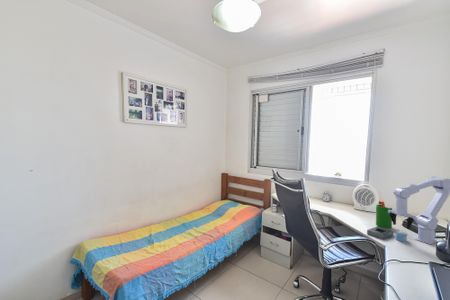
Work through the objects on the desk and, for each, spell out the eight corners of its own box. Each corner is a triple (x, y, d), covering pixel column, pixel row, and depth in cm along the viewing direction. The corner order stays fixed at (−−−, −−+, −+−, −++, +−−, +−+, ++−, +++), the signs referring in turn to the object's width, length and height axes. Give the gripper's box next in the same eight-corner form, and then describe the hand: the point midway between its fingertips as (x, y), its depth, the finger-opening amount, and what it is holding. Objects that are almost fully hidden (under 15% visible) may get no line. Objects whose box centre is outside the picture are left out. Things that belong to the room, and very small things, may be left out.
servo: (400, 238, 137) (400, 229, 137) (407, 240, 134) (407, 231, 134) (395, 240, 134) (395, 231, 134) (402, 242, 131) (402, 233, 130)
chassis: (377, 230, 150) (377, 226, 150) (393, 235, 141) (393, 231, 141) (367, 233, 144) (367, 229, 143) (383, 239, 135) (383, 235, 135)
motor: (394, 227, 154) (394, 202, 154) (387, 229, 151) (387, 203, 151) (380, 222, 164) (380, 198, 164) (373, 224, 161) (373, 200, 160)
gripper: (385, 204, 138) (385, 223, 138) (412, 210, 125) (412, 231, 125) (390, 203, 141) (390, 222, 141) (417, 208, 128) (417, 229, 129)
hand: (401, 226), depth 134 cm, fingers open, 7 cm apart
